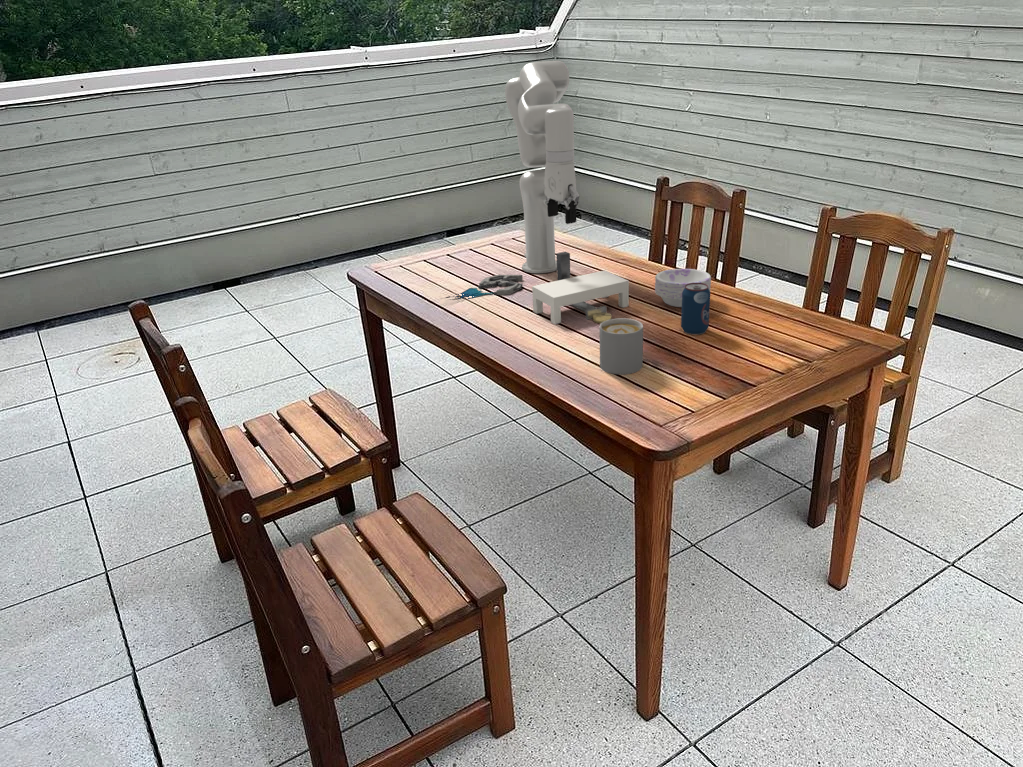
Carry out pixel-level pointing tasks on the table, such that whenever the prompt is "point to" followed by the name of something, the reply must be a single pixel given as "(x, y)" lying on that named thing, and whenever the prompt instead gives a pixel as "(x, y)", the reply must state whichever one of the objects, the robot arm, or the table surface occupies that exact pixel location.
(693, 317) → the soda can
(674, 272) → the paper bowls
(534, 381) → the table surface
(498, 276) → the weapon
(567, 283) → the low stand
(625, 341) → the coffee mug
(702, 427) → the table surface
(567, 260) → the blade tool
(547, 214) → the robot arm
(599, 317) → the brass puck
